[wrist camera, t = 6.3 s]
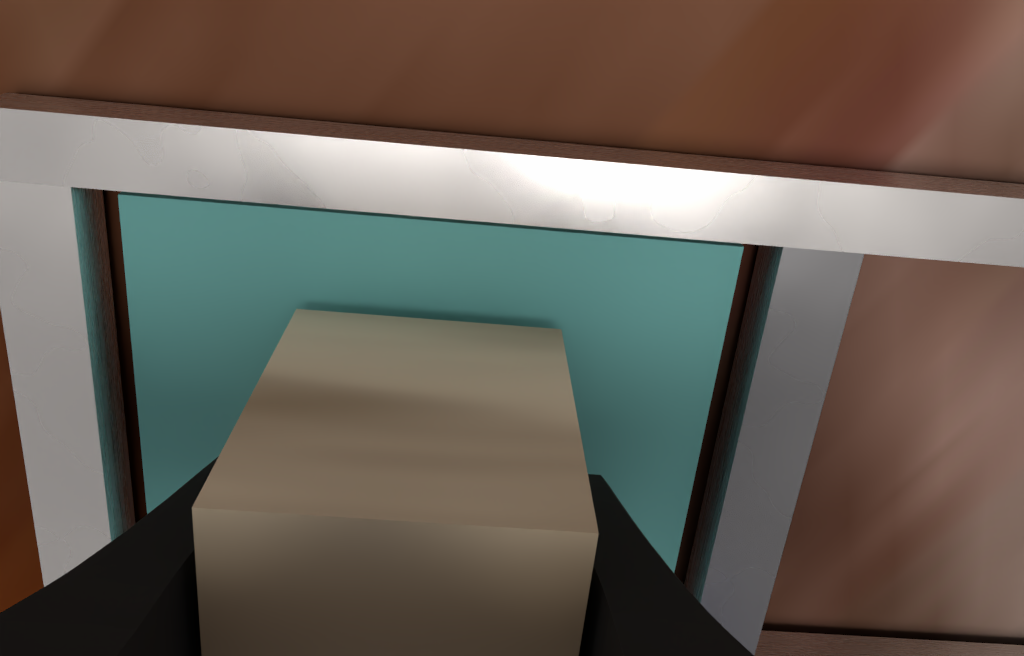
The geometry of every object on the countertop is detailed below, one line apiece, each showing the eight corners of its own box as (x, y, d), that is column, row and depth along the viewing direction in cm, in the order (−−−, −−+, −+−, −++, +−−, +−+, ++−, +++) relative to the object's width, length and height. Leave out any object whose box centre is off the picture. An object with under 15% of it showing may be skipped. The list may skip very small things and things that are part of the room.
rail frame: (1262, 697, 18) (1304, 738, 17) (81, 632, 16) (57, 673, 16) (1543, 230, 14) (1617, 251, 13) (7, 92, 12) (-32, 105, 11)
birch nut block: (534, 542, 15) (553, 808, 10) (298, 527, 15) (210, 793, 10) (561, 329, 13) (599, 533, 9) (296, 308, 13) (191, 507, 8)
